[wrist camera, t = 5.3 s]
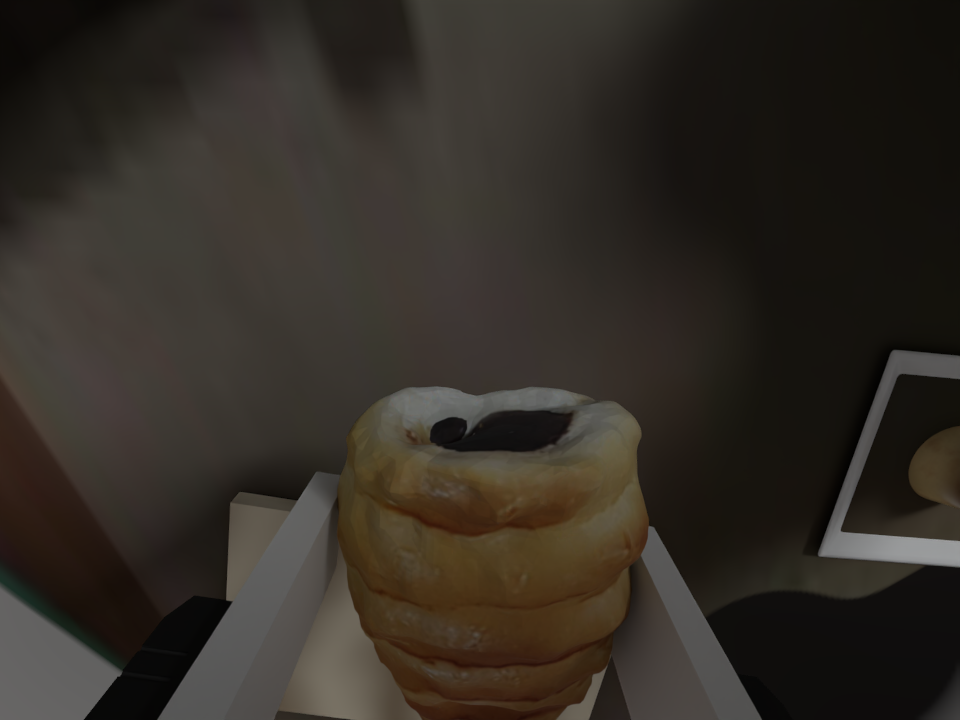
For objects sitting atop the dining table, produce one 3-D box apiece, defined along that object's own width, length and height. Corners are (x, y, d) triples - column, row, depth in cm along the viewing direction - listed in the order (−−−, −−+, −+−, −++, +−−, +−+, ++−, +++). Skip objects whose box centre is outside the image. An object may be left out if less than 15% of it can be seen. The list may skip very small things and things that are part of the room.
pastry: (602, 675, 14) (645, 840, 10) (374, 675, 14) (335, 840, 10) (628, 372, 11) (699, 451, 7) (342, 375, 11) (272, 454, 7)
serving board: (636, 552, 26) (642, 565, 25) (575, 730, 30) (578, 747, 29) (239, 491, 25) (230, 502, 24) (230, 687, 29) (221, 703, 28)
